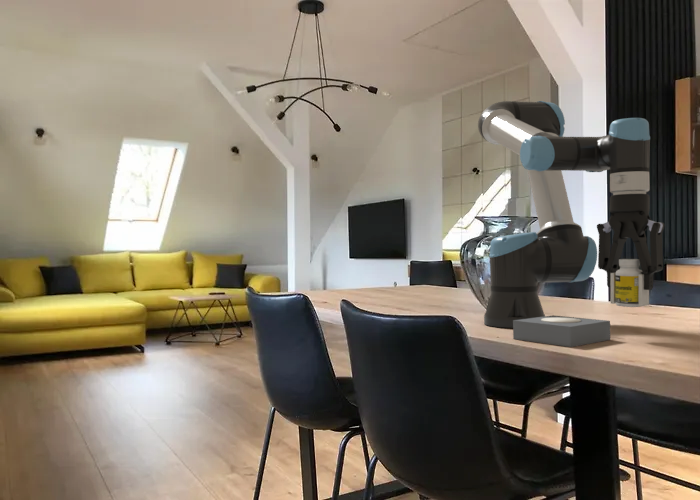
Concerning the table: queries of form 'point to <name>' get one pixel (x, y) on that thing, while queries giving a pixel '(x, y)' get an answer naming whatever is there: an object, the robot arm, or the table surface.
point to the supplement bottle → (627, 283)
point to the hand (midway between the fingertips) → (629, 304)
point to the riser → (561, 330)
